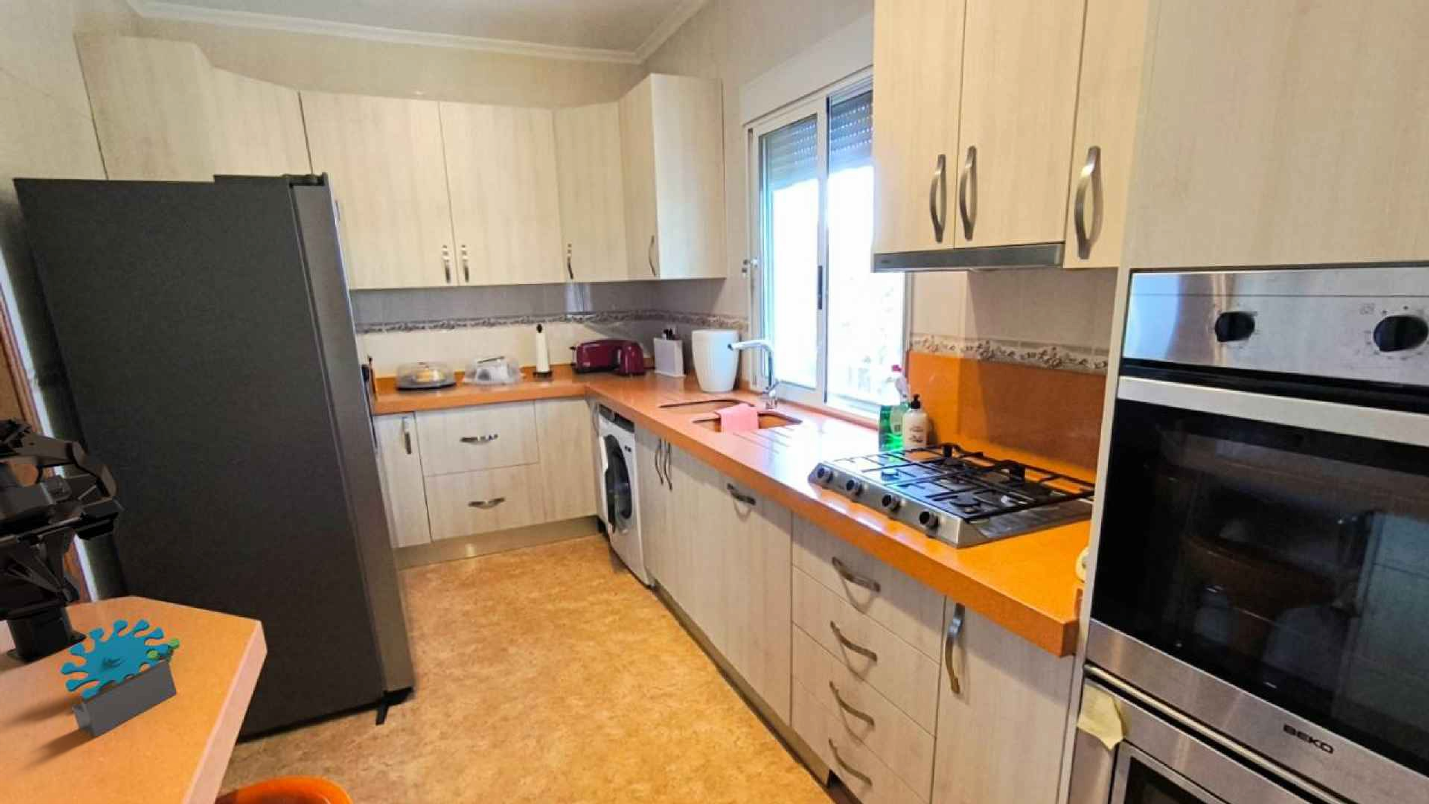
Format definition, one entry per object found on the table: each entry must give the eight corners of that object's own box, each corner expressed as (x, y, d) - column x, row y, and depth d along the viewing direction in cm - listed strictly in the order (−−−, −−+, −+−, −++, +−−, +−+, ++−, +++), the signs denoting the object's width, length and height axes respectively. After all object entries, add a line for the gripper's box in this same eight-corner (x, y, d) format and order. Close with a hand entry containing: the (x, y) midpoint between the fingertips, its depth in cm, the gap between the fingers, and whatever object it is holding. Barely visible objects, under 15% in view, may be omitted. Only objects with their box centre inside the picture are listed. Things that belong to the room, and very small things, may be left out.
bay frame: (79, 728, 71) (68, 695, 70) (159, 686, 78) (150, 655, 77) (95, 737, 70) (85, 703, 69) (177, 693, 76) (168, 662, 76)
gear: (53, 709, 72) (65, 627, 77) (66, 721, 76) (77, 642, 81) (175, 681, 79) (180, 607, 83) (182, 694, 83) (186, 622, 87)
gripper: (-115, 489, 69) (-44, 593, 67) (98, 443, 86) (160, 525, 84) (-115, 544, 74) (-49, 642, 72) (86, 490, 91) (145, 569, 89)
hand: (61, 589), depth 79 cm, fingers closed
